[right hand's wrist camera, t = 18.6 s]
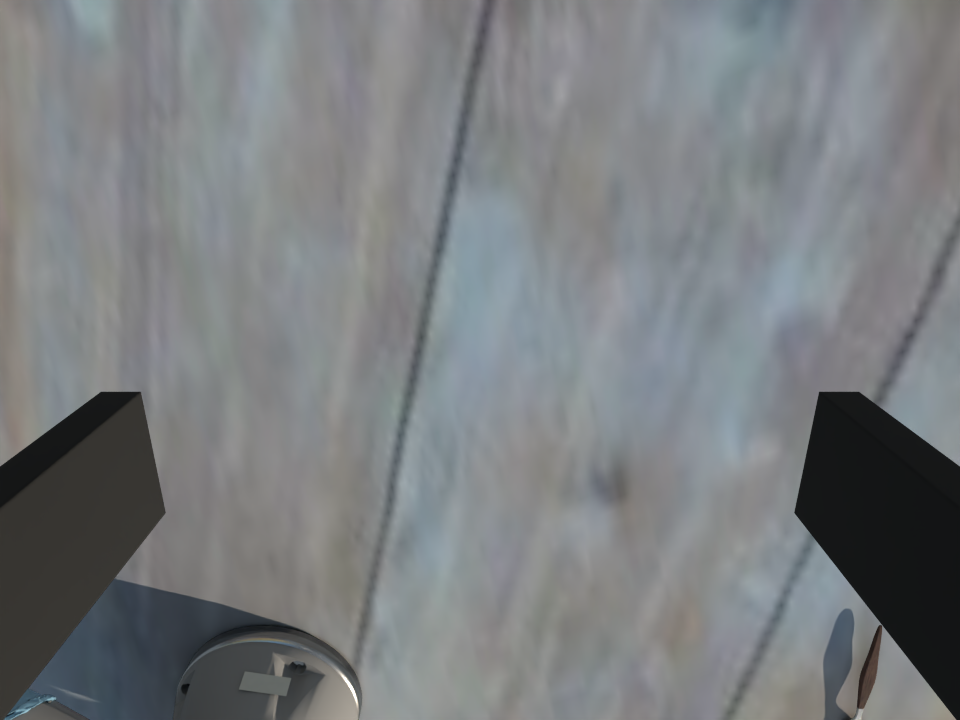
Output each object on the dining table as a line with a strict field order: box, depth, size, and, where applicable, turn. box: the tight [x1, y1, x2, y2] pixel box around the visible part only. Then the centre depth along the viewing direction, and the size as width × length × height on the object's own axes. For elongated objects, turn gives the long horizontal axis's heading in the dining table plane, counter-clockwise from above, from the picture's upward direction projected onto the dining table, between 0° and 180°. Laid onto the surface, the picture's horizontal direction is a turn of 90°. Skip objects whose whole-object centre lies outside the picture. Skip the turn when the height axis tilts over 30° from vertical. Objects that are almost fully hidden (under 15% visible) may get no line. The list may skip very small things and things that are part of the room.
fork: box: [850, 625, 882, 720], centre depth 55 cm, size 3×16×2 cm, turn 2°
